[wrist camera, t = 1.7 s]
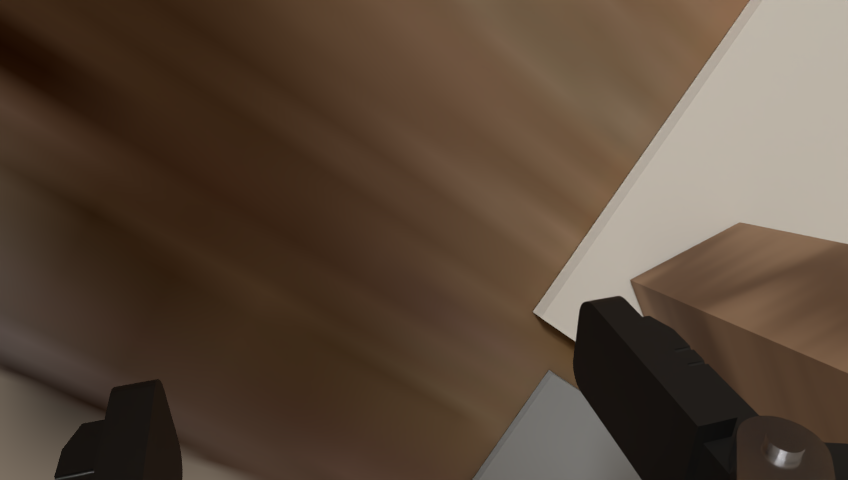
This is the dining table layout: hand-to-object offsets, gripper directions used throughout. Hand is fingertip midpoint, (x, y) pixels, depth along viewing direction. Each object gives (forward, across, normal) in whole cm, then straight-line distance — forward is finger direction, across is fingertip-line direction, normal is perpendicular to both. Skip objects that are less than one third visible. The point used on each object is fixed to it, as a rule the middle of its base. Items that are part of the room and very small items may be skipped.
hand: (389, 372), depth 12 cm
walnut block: (+8, +14, -7) cm, 18 cm away
